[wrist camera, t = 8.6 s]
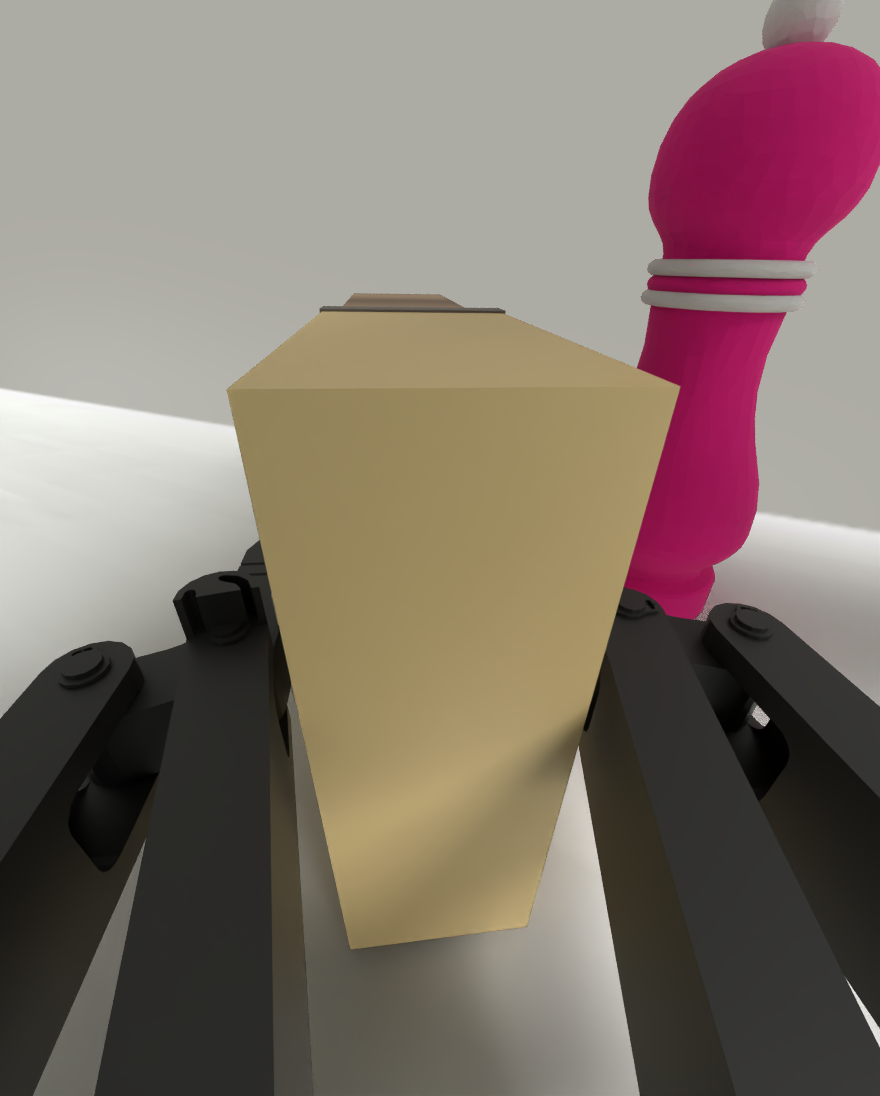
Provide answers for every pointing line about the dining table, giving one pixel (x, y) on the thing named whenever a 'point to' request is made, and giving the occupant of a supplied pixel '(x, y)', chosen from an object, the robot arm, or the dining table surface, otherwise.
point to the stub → (444, 588)
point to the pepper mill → (741, 272)
